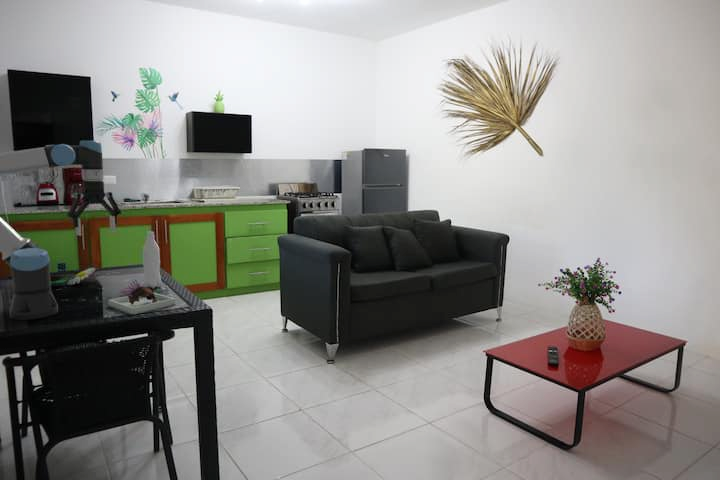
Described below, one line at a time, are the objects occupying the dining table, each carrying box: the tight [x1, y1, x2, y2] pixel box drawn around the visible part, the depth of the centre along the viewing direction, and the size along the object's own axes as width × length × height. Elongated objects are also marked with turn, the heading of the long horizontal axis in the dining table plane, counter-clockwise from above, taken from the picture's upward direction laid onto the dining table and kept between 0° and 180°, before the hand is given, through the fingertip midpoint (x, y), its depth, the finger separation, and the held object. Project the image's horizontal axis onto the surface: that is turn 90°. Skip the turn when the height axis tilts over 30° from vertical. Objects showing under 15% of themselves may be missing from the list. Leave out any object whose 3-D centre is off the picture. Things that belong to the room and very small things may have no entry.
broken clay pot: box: [127, 285, 157, 305], centre depth 202 cm, size 12×10×8 cm
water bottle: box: [142, 230, 162, 289], centre depth 230 cm, size 7×7×25 cm
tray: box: [107, 292, 176, 316], centre depth 202 cm, size 18×18×2 cm
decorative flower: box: [51, 267, 96, 286], centre depth 232 cm, size 13×5×30 cm
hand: (96, 233), depth 208 cm, fingers open, 13 cm apart
